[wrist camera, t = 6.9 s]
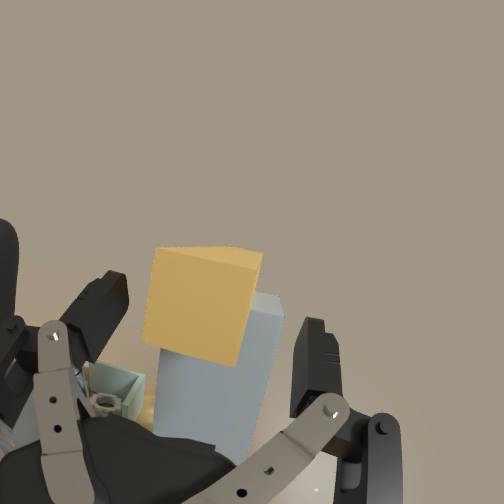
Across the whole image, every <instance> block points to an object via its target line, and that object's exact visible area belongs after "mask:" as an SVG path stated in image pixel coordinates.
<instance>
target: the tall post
mask: <svg viewBox="0 0 504 504" xmlns="http://www.w3.org/2000/svg"><path fill="white" fill-rule="evenodd" d="M283 321H284V313H283V310H282V306H281V303H280V300H279V296H276V295H270V294H266V293H261V292H256V291H255V293H254V297H253V300H252V304H251V308H250V312H249V316H248V320H247V324H246V328H245V332H244V336H243V340H242V344H241V347H240V351H239V355H238V359H237V363H236V367H231V366H227V365H223V364H219V363H214V362H210V361H206V360H202V359H199V358H195V357H191V356H187V355H184V354H180V353H177V352H173V351H170V350H166V349H163V348H161V350H160V358H159V366H158V375H157V384H156V395H155V406H154V418H153V434H155V435H157V436H160V437H172V438H188V439H192V440H196V441H200V442H204V443H208V444H213V445H216V448H215V451H216V452H218V453H221V454H222V455H224V456H225V457H227V458H228V459H230V460H231V461H232V462H233V463H234V464H235V465H236V466H238V465H240V464H241V463H242V462H244V461H245V459H246V455H247V452H248V449H249V446H250V442H251V439H252V436H253V432H254V429H255V426H256V422H257V419H258V415H259V412H260V408H261V405H262V401H263V398H264V394H265V390H266V387H267V383H268V380H269V376H270V372H271V368H272V364H273V361H274V357H275V353H276V349H277V345H278V341H279V337H280V333H281V329H282V325H283Z"/></svg>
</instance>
